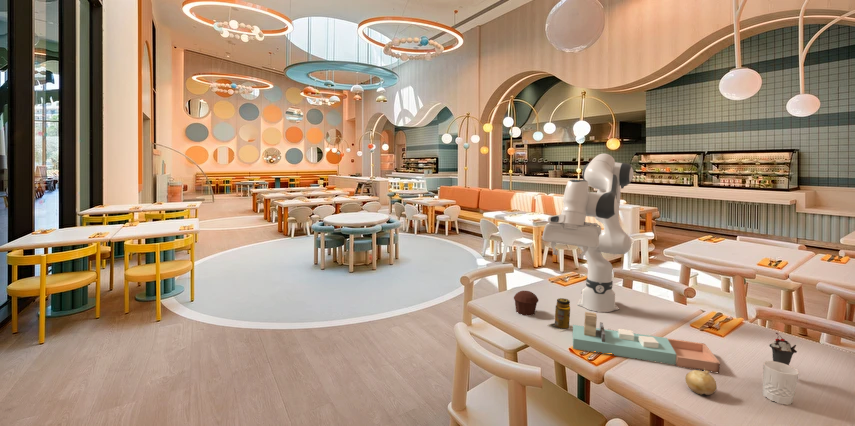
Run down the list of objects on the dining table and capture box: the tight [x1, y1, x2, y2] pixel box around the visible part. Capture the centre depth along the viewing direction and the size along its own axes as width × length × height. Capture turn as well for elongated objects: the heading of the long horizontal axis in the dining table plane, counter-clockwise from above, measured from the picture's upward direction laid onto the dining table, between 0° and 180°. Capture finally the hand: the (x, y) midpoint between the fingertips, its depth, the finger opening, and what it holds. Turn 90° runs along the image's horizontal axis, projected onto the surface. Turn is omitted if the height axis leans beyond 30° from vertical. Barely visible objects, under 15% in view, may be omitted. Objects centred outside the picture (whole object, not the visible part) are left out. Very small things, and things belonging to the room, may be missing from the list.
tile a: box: [617, 328, 634, 341], centre depth 150 cm, size 5×5×2 cm
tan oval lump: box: [685, 368, 717, 396], centre depth 120 cm, size 8×8×7 cm
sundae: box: [768, 332, 798, 366], centre depth 129 cm, size 7×7×15 cm
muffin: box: [513, 290, 539, 316], centre depth 185 cm, size 12×11×10 cm
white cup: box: [761, 360, 800, 405], centre depth 117 cm, size 8×8×10 cm
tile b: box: [638, 336, 659, 348], centre depth 144 cm, size 5×5×2 cm
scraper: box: [583, 311, 605, 342], centre depth 151 cm, size 12×7×8 cm, turn 160°
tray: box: [666, 337, 721, 374], centre depth 141 cm, size 16×12×4 cm
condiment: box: [547, 297, 573, 332], centre depth 168 cm, size 7×8×12 cm
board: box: [572, 324, 677, 366], centre depth 149 cm, size 14×34×4 cm, turn 70°
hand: (567, 256), depth 147 cm, fingers open, 8 cm apart
